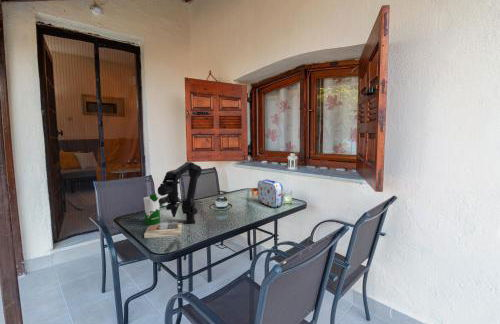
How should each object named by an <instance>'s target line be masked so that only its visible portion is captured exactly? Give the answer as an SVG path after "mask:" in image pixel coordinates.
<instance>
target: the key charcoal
mask: <svg viewBox="0 0 500 324" xmlns="http://www.w3.org/2000/svg"><path fill="white" fill-rule="evenodd" d="M169 224H170V227H171V229H178V224H179V221H171V222H170V223H169Z"/></svg>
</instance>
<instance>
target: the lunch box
mask: <svg viewBox="0 0 500 324" xmlns="http://www.w3.org/2000/svg"><path fill="white" fill-rule="evenodd" d="M283 196H284V188H283V185H282V183H280V182H278V181H276V180H270V179H263V180H259V181H258V182H257V199H258V201H259V202H260V203H261V202H262V204H263V203H264V204H263V205H265V204H266V205H265V206H267V205H268V207H270V206H271V207H270V208H278V207H282V206H283V201H284V198H283ZM277 206H278V207H277Z"/></svg>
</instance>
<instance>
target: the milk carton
mask: <svg viewBox="0 0 500 324" xmlns="http://www.w3.org/2000/svg"><path fill="white" fill-rule="evenodd" d="M160 198H161V197H160V196H157V193H153V194H150V195H149V196H146V197H143V203H144V204H143V205H144V223H145V225H148V226H150V225H159V224H161V214H160V213H161V212H160V204H159V201H158V200H159V199H160Z"/></svg>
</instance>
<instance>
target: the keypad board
mask: <svg viewBox="0 0 500 324" xmlns="http://www.w3.org/2000/svg"><path fill="white" fill-rule="evenodd" d="M170 224H171V223H168V229H167V230H160V224H155V225H148V227H147V229H146V230H145V231H144V234H143V235H144V239H149V238H150V239H151V238H164V237H176V236H181V233H182V229H183V223H182V222H181V223H179V222H178V229H171V227H170ZM156 225H158V230H154V231H150V227H151V226H156Z"/></svg>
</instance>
